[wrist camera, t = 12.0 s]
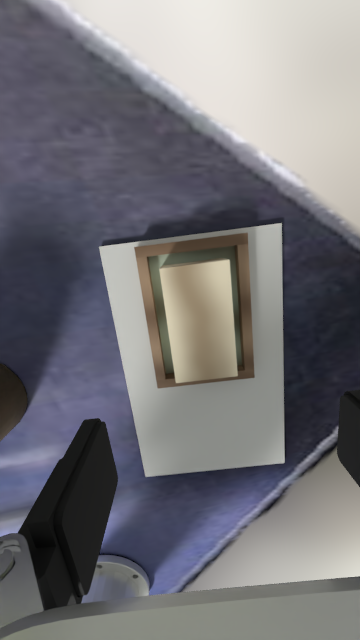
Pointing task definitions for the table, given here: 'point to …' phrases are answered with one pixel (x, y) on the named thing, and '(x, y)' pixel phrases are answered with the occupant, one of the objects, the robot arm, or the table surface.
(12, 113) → the table surface
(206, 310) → the tall cream rectangular prism
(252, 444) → the mat
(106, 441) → the robot arm
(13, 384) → the pillar candle
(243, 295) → the frame
